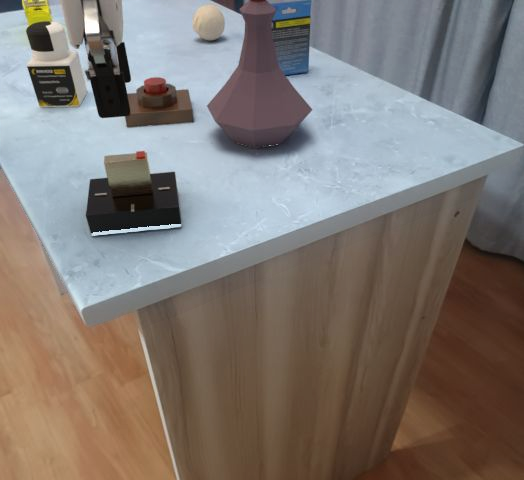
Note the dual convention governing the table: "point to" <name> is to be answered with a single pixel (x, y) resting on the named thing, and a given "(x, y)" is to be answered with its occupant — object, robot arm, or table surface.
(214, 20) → the beige ball
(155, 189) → the lever switch base
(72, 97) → the medicine bottle
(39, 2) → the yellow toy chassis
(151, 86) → the button
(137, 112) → the button block
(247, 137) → the flask
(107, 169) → the beige two-tone block
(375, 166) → the table surface
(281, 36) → the blue product box
